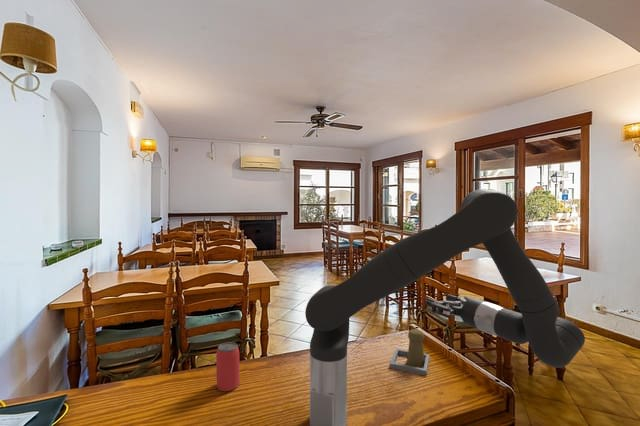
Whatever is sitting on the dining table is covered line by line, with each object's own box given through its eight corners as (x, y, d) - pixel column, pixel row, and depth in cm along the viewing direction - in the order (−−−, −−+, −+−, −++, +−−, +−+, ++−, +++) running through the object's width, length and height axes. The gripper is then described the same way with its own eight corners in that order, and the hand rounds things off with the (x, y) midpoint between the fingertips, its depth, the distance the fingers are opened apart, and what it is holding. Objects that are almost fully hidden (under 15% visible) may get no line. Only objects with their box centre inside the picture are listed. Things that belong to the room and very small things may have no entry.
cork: (426, 368, 103) (426, 335, 102) (407, 366, 104) (407, 333, 104) (424, 359, 109) (424, 328, 108) (406, 357, 110) (406, 326, 110)
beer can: (211, 388, 92) (211, 348, 91) (227, 377, 97) (227, 339, 97) (228, 395, 89) (228, 353, 88) (244, 383, 94) (243, 344, 94)
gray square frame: (426, 375, 98) (426, 370, 98) (389, 367, 103) (389, 363, 103) (429, 358, 109) (429, 354, 109) (395, 352, 114) (396, 348, 113)
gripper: (503, 298, 84) (453, 284, 98) (466, 306, 77) (419, 290, 92) (502, 326, 84) (452, 308, 98) (466, 336, 78) (418, 315, 92)
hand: (436, 299), depth 95 cm, fingers open, 8 cm apart
